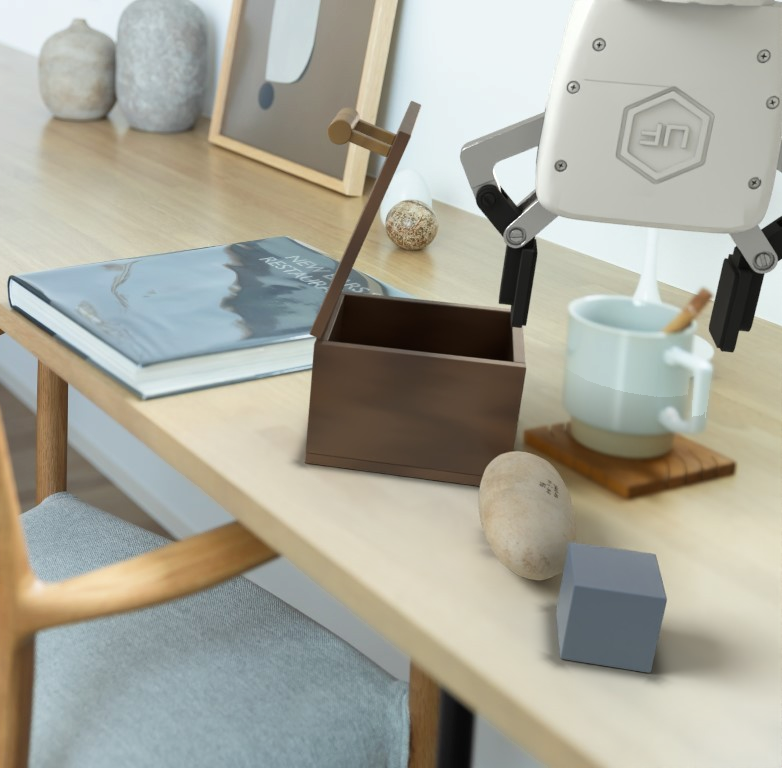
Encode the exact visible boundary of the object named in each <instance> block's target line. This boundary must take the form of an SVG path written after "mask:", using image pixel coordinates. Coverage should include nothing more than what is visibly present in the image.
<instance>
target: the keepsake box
mask: <svg viewBox="0 0 782 768" xmlns="http://www.w3.org/2000/svg"><path fill="white" fill-rule="evenodd" d="M525 345H526V344H525V333H524V326H522V328H516V327H511V308H506V307H496V306H485V305H479V304H478V305H477V304H468V303H458V302H457V303H456V302H449V301H438V300H429V299H421V298H420V299H419V298H412V297H411V298H410V297H402V296H401V297H400V296H392V295H391V296H390V295H383V294H374V293H373V294H372V293H363V292H354V291H344V290H342V292H341V294H340V296H339V299H338V301H337V303H336V305H335V308H334V310H333V312H332V314H331V316H330V319H329V321H328V323H327V325H326V328H325V330H324V332H323V334H322V337H321V338H320V339H319V338H316V337H315V340H314V343H313V354H312V364H311V365H312V366H311V380H310V389H309V390H310V392H309V404H308V414H307V415H308V418H307V428H306V429H307V430H306V441H305V442H306V443H305V453H304V454H305V455H304V463H305V464H310V465H318V466H319V465H320V466H326V467H333V468H334V467H335V468H341V469H348V470H357V471H363V472H372V473H377V474H378V473H379V474H385V475H386V474H387V475H392V476H401V477H408V478H417V479H423V480H431V481H438V482H439V481H440V482H445V483H446V482H447V483H455V484H460V485H467V486H469V485H470V486H476V487H480V484H481V480H482V477H483V474H484V471H485V469H486V467H487V466H488V465H489V463H490V462H491V461H492V460H493V459H495V458H496V457H497V456H499V455H501V454H504V453H508V452H513V451H515V444H516V436H517V432H518V425H519V417H520V413H521V412H520V411H521V405H522V400H523V393H524V385H525V379H526V375H527V374H526V373H527V357H526V346H525Z"/></svg>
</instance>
